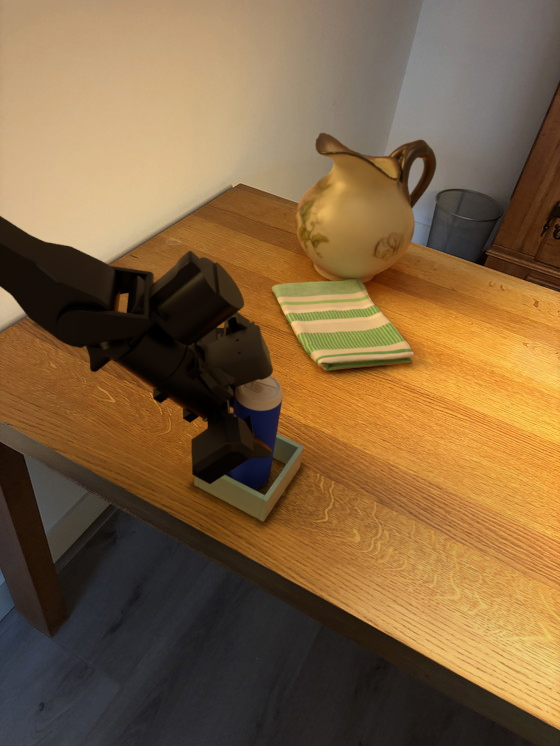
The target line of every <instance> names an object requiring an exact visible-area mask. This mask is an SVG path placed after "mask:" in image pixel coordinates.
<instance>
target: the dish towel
mask: <svg viewBox="0 0 560 746" xmlns="http://www.w3.org/2000/svg"><path fill="white" fill-rule="evenodd" d="M271 291H272V293H273V295H274V296H275V298H276V300H277V302H278V304H279V307H280V308H281V310H282V312H283V315H284V316H285V318H286V320H287V321H288V323H289V325H290V326H291V329H292V331H293V333H294V335H295V336H296V339H297V340H298V342H299V344H300V345H301V346H302V348H303V351H305V353H306V354H307V355H308V356H309V357H310V359H312V361H313V362H314V363H315V364H316V366H318V367H319V368H321V370H324V371H326V372H329V371H335V370H336V371H337V370H345V369H357V368H367V367H377V366H378V367H379V366H389V365H399V364H410V363H413V362H414V361H413V359H412V358H414V355H415V353H414V351H413V350H412V348H411V346H410V344H409V343H408V342H407V340H406V339H405V337H403V336H402V334H401V332H400V331H399V330H398V329H397V328H396V327H395V325H394V324H393V323H392V322H391V321H390V320H389V319H388V318H387V317H386V316H385V315H384V314H383V312H382V310H381V309H380V308H379V307H378V306H377V305H376V304H375V303H374V302H373V300H372V299H371V297H370V295H369V293H368V289H367V288H366V285H365V283H362V281H361V280H360V279H359V278H352V279H347V280H343V281H330V280H322V281H321V280H320V281H302V282H285V283H284V282H283V283H278V284H275V285H273V286H272V287H271Z"/></svg>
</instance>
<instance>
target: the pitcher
mask: <svg viewBox="0 0 560 746" xmlns="http://www.w3.org/2000/svg"><path fill="white" fill-rule="evenodd" d="M314 146H315V151H316V152H317V154H319V155H320V156H323V157H327V158H330V159H332V161H333V165H332V168H331V169H330V171H328V173H326V174H325V175H324V176H322V177H321V178H320V179H318V180H317V181H316V182H315V183H313V184H312V185H311V186H310V187H309V188H308V189H307V190H306V192H305V193H304V194H303V195H302V197H301V198H300V200H299V202H298V204H297V207H296V210H295V215H294V216H295V217H294V224H295V232H296V235H297V239H298V242H299V244H300V246H301V248H302V250H303V251H304V253H305V254H306V256H307V257H308V259H309V260H310V261H311V262H312V263H313V268H314V270H315V271H316V273H317V274H318V275H320V276H321V277H322V278H324V279H325V280H327V281H343V280H347V279H352V278H359V279H360V280H361V281H362V283H363V284H366V283H368V282H370V281H371V280H372V279H374V277H375V276H376V275H379V274H380V273H382V272H384V271H387V270H388V269H389V268H391V267H393V265H395V264H397V262H398V261H399V260H400V259H401V258H402V257H403V256H404V255H405V253H406V251H407V250H408V248H409V247H410V245H411V242H412V241H413V239H414V238H413V237H414V233H415V226H416V225H415V224H416V221H415V214H414V212H413V208H414V207H415V205H416V204H417V203H418V201H419V200H420V199H421V198H422V196H423V195H424V193H425V192H426V191H427V189H428V188H429V186H430V184H431V183H432V180H433V179H434V177H435V174H436V170H437V158H436V154H435V152H434V150H433V148H432V147H431V146H430V145H429V144H428V143H427V142H426V141H425V140H424V139H421V138H420V139H416V140H413V141H410V142H406V143H403V144H401V145H400V146H398V147H396V148H395V149H394V150H393V151H392V152H391V153H390V154H389V155H382V156H380V155H379V156H377V155H376V156H374V155H369V154H368V155H367V154H362V153H360V152H358V151H355V150H353V149H350V148H349V147H348V146H346V145H345V144H343V143H342V142H341V141H340V140H338V138H336V137H334V136H333V135H331V134H329V133H325V132H320V133H319V134H318V136H317V138H316V139H315V144H314ZM417 159H422V162H423V169H422V172H421V176H420V178H419V179H418V182H417V183H416V185H415V186H414V188H413V190H412V191H411V192H410V189H409V178H410V172H411V168H412V167H413V164H414V162H415V161H416V160H417Z"/></svg>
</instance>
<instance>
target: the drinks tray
mask: <svg viewBox="0 0 560 746" xmlns="http://www.w3.org/2000/svg"><path fill="white" fill-rule="evenodd" d="M304 450H305V446H304V445H302V444H300V443H298V442H296V441H293V440H291V439H289V438H287V437H285V436H283V435H281V434H279V433H277V435H276V441H275V447H274V453H273V459H275V460H277V461H279V462H281V463H283V464H285V466H284V467H283V469H282V470H281V471H280V473H279V474H278V476H277V478H276V479H275V480H274V482H273V483H272V484H271V486H270V487H269V488H268V490H267V491H266V493H265V494H263V493H261V492H259V491H258V490H256V489H255V490H253V489H251V488H249V487H248V486H246V485H244V484H242V483H240V482H238V481H236V480H234V479H232V478H230V477H229V475H227V474H225V475H224V476H222V477H221V478H219V479H218V480H216V481H215V482H213V483H211V484H208V483H206V482H204V481H202V480H201V479H199V478H197V477H195V476H194V478H193V479H194V480H193V481H194V483H193V484H194V486H195V487H197V488H199V489H201V490H203V491H204V492H206V493H208V494H210V495H212V496H214V497H215V498H217V499H219V500H221V501H223V502H225V503H227V504H229V505H231V506H233V507H234V508H237V509H239V510H240V511H242V512H244V513H246V514H248V515H249V516H251V517H253V518H255V519H257V520H259V521H261V522H263V523H264V522H265V520H266V519H267V518H268V516H269V514H270V513H271V511H272V510H273V509H274V507H275V505H276V504H277V503H278V501H279V499H280V498H281V497H282V495H283V494H284V492H285V491H286V489H287V487H288V486H289V485H290V483H291V481H292V480H293V478H294V477H295V475H296V474H297V472H298V471H299V469H300V468H301V465H302V459H303V455H304Z"/></svg>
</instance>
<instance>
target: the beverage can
mask: <svg viewBox="0 0 560 746" xmlns="http://www.w3.org/2000/svg"><path fill="white" fill-rule="evenodd" d="M283 397H284V394H283V390H282V385H281V383H280V382H279V380H278V379H277V378H276V377H275V376H272V375H270V376H269V377H268V378H266V379H263V380H256V381H253V382H250V383H247V384H244V385H241V386H238V387H236V389H235V396H234V408H232V409H233V410H232V413H234V414H235V415H236V417H239V418H240V419H242V420H243V419H244V418H246V417H247V416H249V415H251V421H252V428H253V432H254V433H255V434H256V435H257V436H258V437H259V438H260V439H261V440H262V441H263V442H264V443H266V444H267V446H268V447H269V448H270V449H271V450H272V455H270V456H268V457H267V458H250V459H249V460H247V461H246V462H244V463H243V464H241V465H240V466H238V467H236V468H235V469H233V470H232V471H230V472H229V473H227V476H228V477H230V478H232V479H234V480H236V481H238V482H240V483H242V484H244V485H246V486H248V487H249V488H251V489H253V490H255V491H256V490H257V489H260V488H263V487H264V486H265V485H266V484H267V483H268V481H269V479H270V477H271V471H272V465H273V459H274V458H273V453H274V447H275V441H276V435H277V434H278V428H279V421H280V417H281V416H280V415H281V410H282V405H283Z"/></svg>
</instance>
